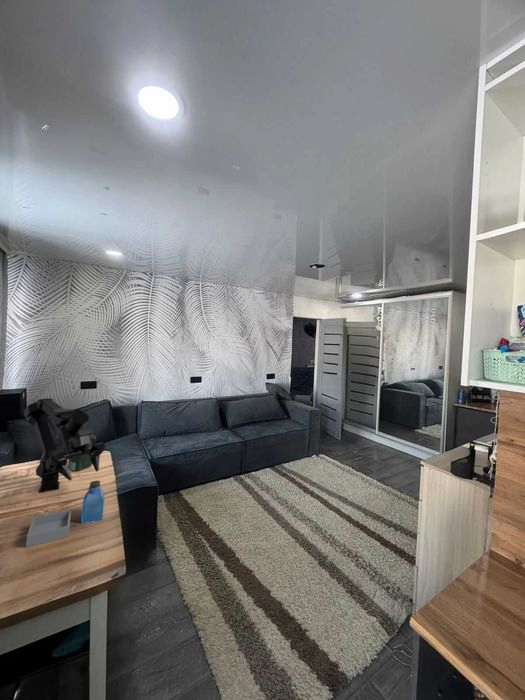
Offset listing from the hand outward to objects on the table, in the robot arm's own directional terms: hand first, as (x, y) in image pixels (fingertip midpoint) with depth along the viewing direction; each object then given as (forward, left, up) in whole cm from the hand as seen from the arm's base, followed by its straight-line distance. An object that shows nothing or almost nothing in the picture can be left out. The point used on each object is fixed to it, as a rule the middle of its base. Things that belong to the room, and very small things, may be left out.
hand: (84, 475), depth 99 cm
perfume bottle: (+6, +3, -13) cm, 15 cm away
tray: (+10, -8, -12) cm, 18 cm away
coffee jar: (-40, -2, -13) cm, 42 cm away
